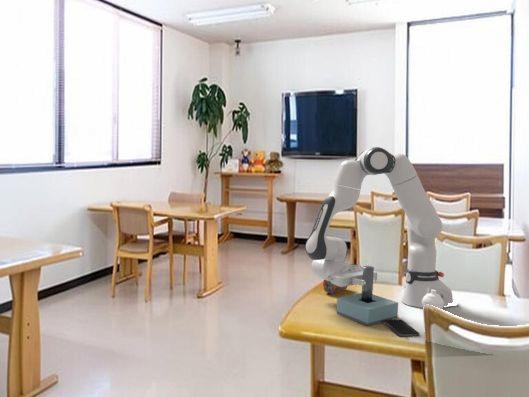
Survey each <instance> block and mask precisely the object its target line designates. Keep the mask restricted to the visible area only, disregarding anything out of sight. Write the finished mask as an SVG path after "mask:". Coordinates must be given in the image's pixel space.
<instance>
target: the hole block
mask: <svg viewBox="0 0 529 397" xmlns="http://www.w3.org/2000/svg"><path fill="white" fill-rule="evenodd" d="M361 296H362V292H360V293H357V294H350V295H347V296H342V297H337V298H336V314H337V315H339V316H342V317H344V318H347V319H349V320H352V321H354V322H357V323H360V324H362V325H365V326H368V327H369V326H372V325H373V326H374V325H376V324H380V323H383V320H397V319H398V315H399V314H398V311H399V302H397V301H394V300H391V299H388V298H385V297H383V296H379V295H375V294H373V293H372V302H371V303H366V302H363V301H361Z"/></svg>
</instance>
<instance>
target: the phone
mask: <svg viewBox="0 0 529 397" xmlns="http://www.w3.org/2000/svg"><path fill="white" fill-rule="evenodd" d="M382 324H383V325H385V326H386V327H387V328H388V329H389V330H390V331H391V332H392V333H394V335H396V336H397V337H400V338H407V337H408V338H411V337H413V336H414V337H420V332H419V331H417V329H414V327H412V326H410V325H409V324H408V323H407V322H406V321H404V320H403V319H393V320H383V322H382Z"/></svg>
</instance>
